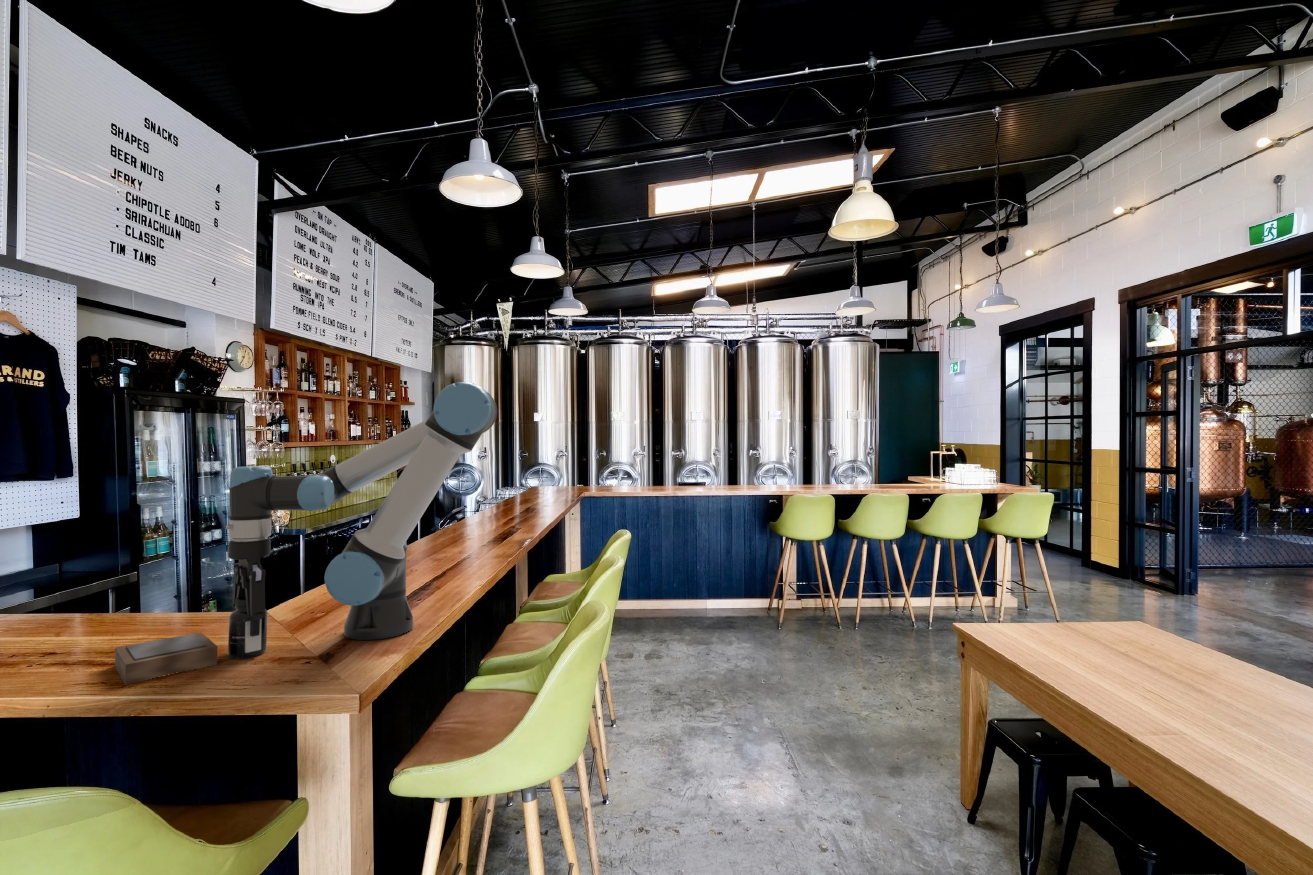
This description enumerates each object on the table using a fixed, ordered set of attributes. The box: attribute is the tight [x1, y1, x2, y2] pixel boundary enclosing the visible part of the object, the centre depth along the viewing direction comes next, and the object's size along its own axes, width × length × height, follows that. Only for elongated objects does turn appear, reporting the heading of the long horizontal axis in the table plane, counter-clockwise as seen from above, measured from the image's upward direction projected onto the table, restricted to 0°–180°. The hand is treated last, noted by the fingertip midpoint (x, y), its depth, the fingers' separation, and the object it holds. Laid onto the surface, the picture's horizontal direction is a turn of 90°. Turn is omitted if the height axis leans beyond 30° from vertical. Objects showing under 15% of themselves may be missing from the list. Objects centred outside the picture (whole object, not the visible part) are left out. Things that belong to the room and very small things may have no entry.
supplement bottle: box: [227, 596, 269, 660], centre depth 128 cm, size 7×7×12 cm
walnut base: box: [114, 631, 218, 686], centre depth 121 cm, size 14×14×4 cm
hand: (247, 646), depth 128 cm, fingers closed on supplement bottle, 7 cm apart
